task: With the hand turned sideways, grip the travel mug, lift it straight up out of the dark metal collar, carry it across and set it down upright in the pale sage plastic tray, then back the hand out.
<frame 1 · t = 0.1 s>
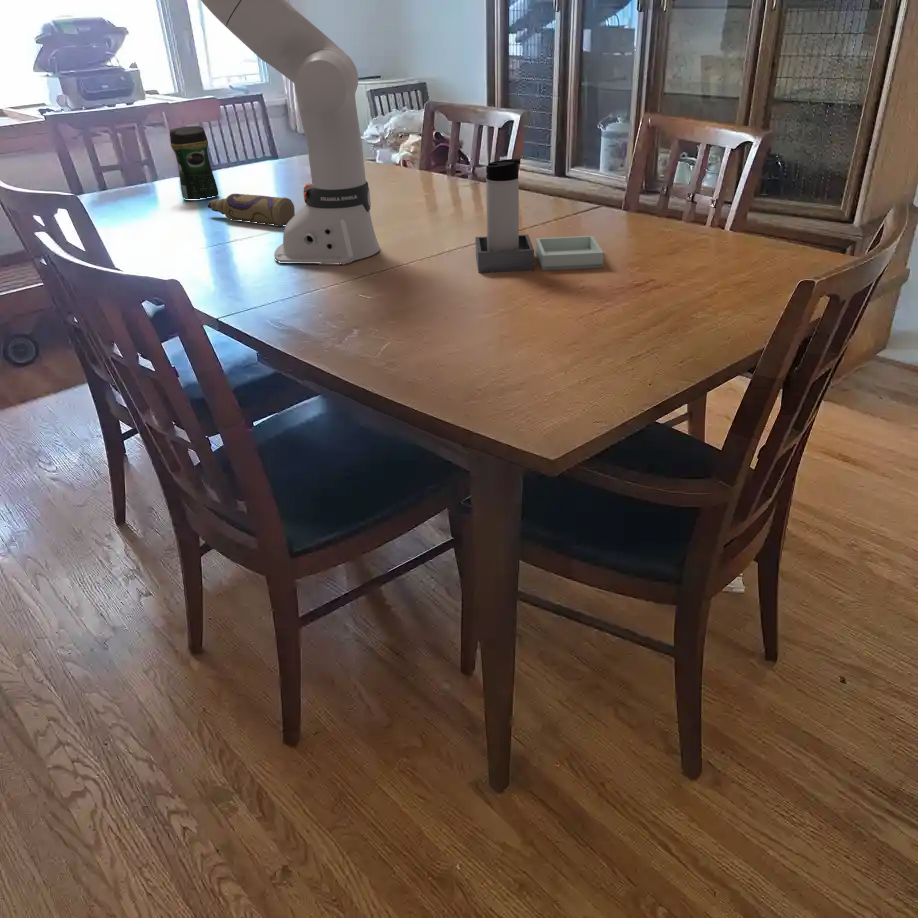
tray: (568, 259, 161), on the table
coffee jar: (201, 198, 221), on the table
collar: (504, 263, 161), on the table
decorative bottle: (254, 221, 198), on the table
travel mug: (504, 264, 161), resting in collar
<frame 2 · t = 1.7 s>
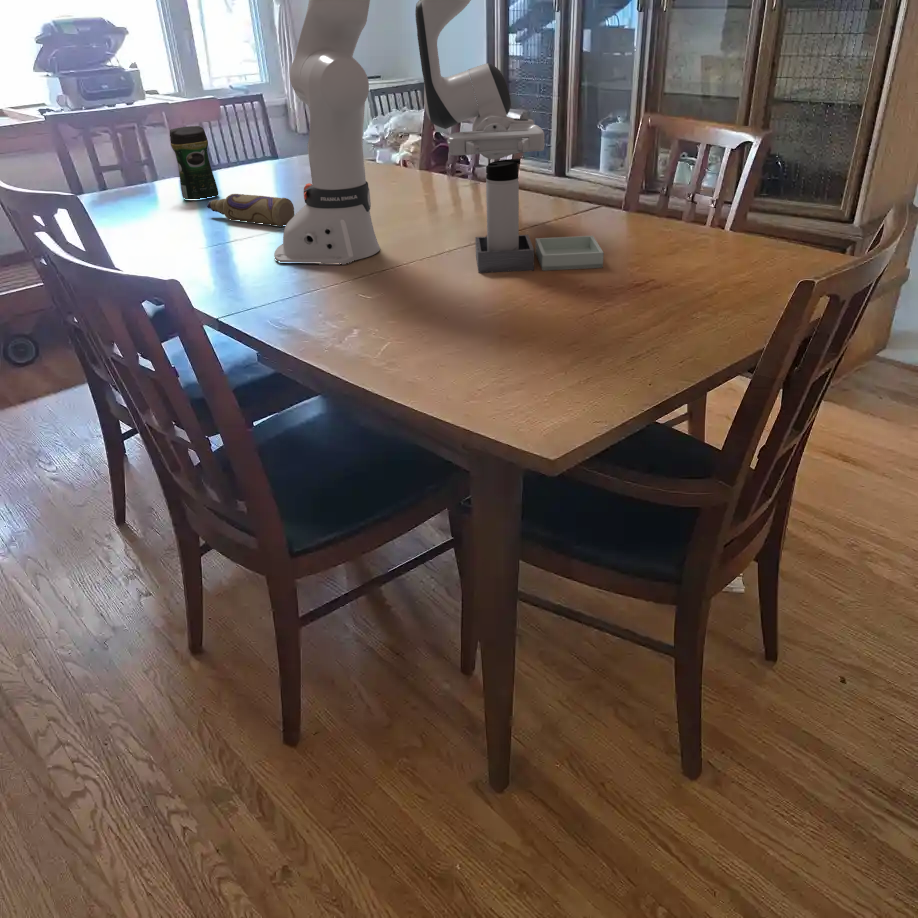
hand: (498, 148, 162), 20 cm above the table, tool horizontal, fingers open, 8 cm apart
nothing on the table moved.
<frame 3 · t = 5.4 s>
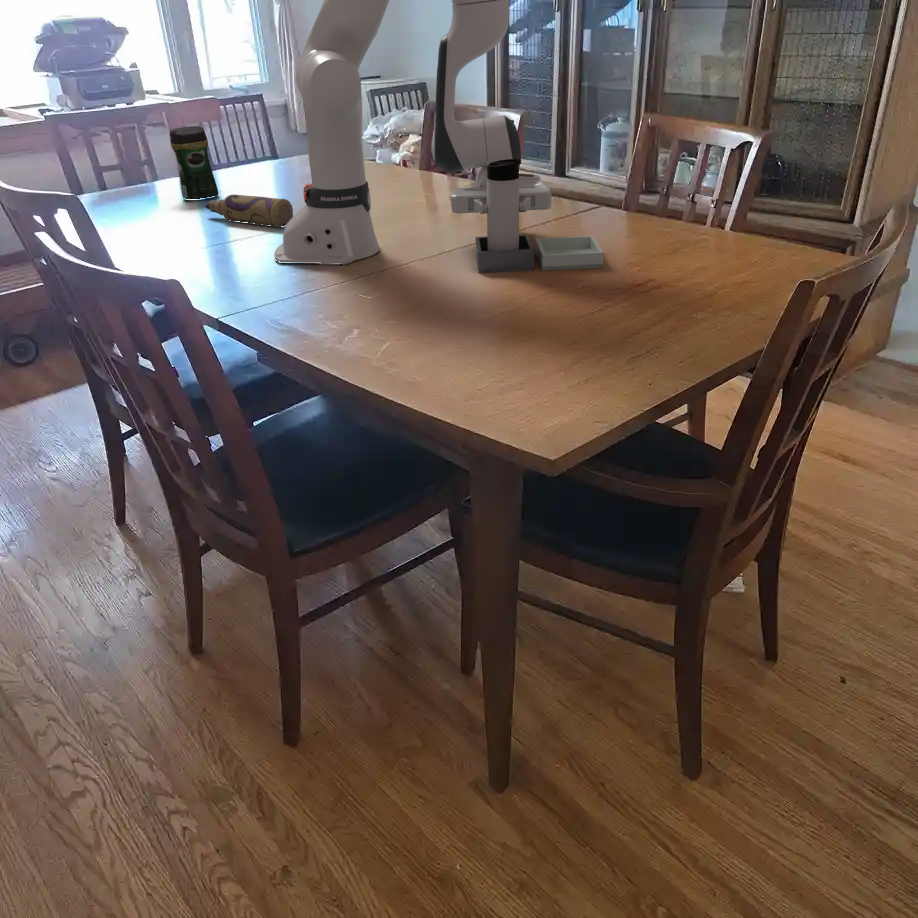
hand: (503, 208, 154), 11 cm above the table, tool horizontal, fingers closed on travel mug, 6 cm apart
travel mug: (504, 263, 161), resting in collar, touching gripper
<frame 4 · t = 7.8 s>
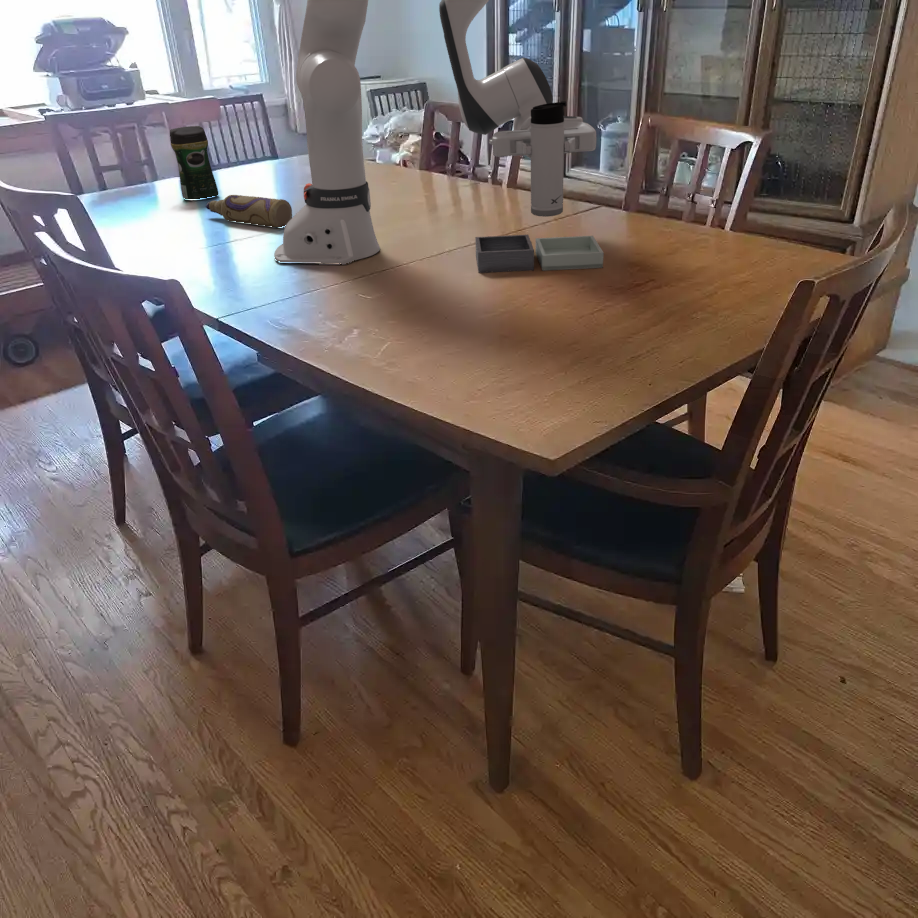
hand: (548, 149, 149), 22 cm above the table, tool horizontal, fingers closed on travel mug, 6 cm apart
travel mug: (547, 213, 156), point 9 cm above the table, touching gripper
when the fingers open (13 cm above the table, at t = 10.1 s): travel mug stays where it is, resting on tray.
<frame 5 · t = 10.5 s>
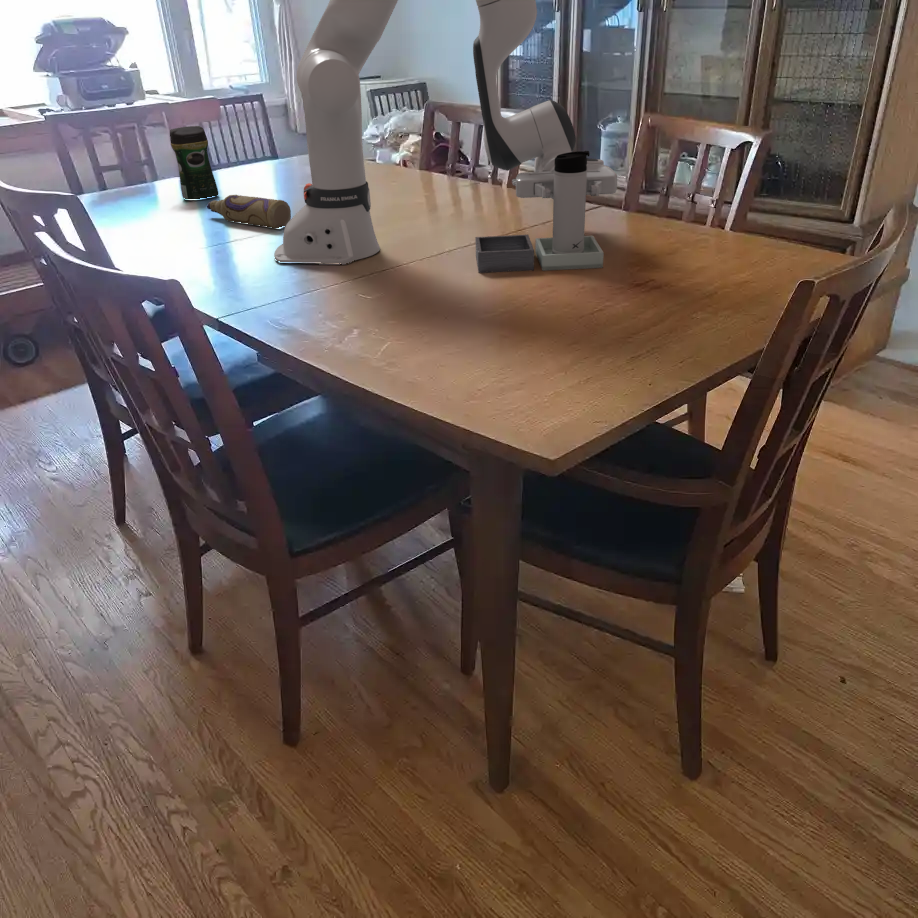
hand: (570, 192, 153), 13 cm above the table, tool horizontal, fingers open, 8 cm apart
travel mug: (568, 256, 160), point 1 cm above the table, touching tray
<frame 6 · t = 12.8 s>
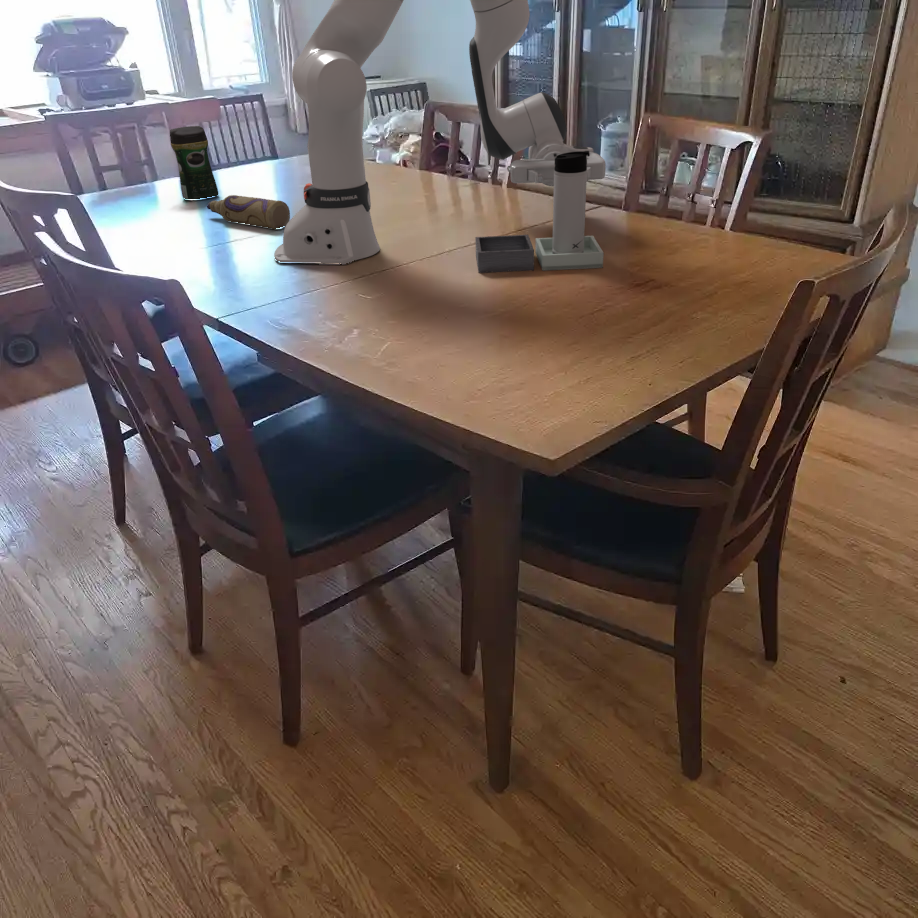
hand: (561, 177, 164), 14 cm above the table, tool horizontal, fingers open, 8 cm apart
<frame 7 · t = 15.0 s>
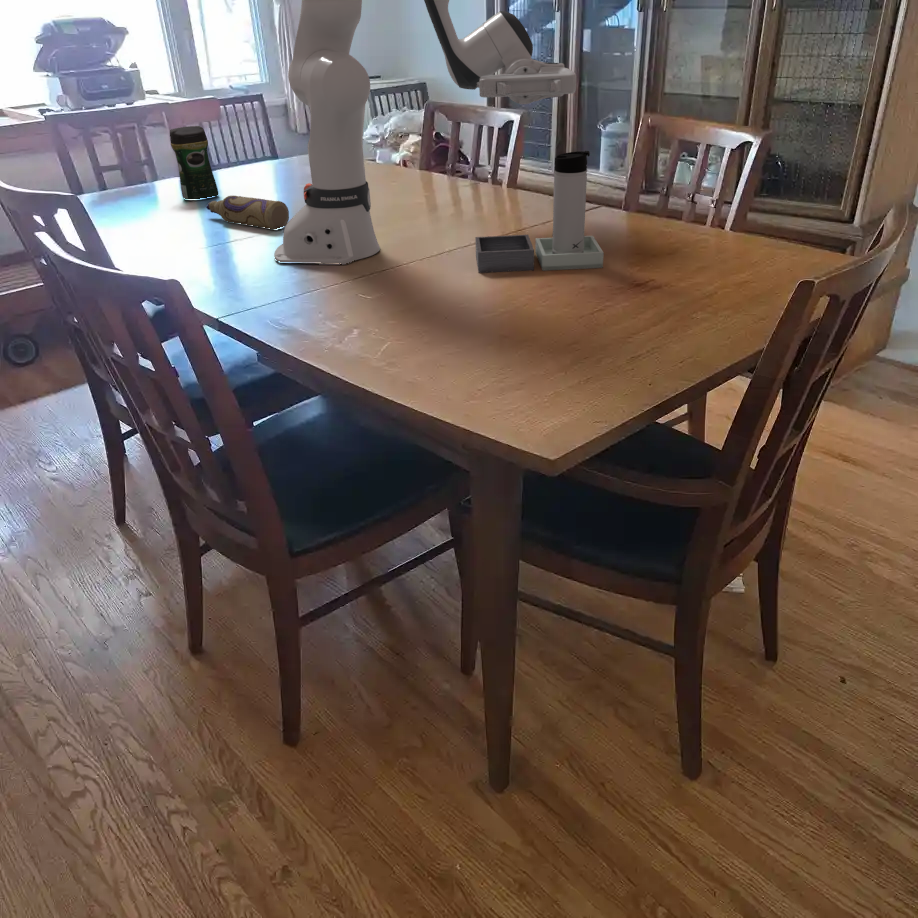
hand: (530, 89, 160), 30 cm above the table, tool horizontal, fingers open, 8 cm apart
at the end: travel mug 0.1 cm off-centre on the tray, point 0.6 cm above the tray's base; travel mug tilted 0°; the gripper is holding nothing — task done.
